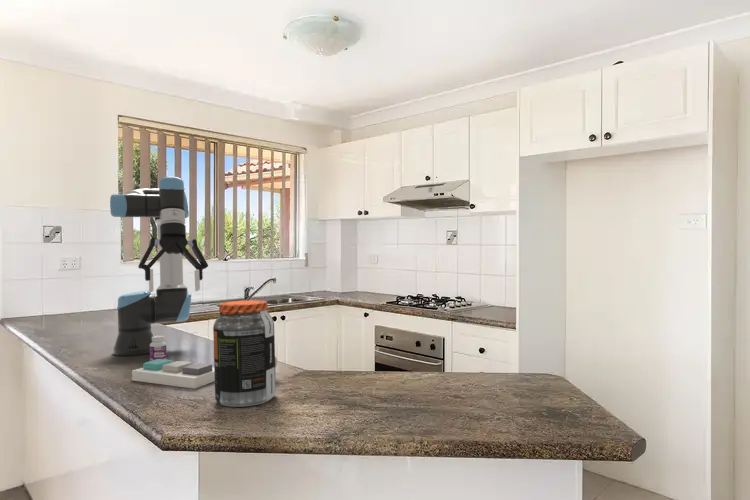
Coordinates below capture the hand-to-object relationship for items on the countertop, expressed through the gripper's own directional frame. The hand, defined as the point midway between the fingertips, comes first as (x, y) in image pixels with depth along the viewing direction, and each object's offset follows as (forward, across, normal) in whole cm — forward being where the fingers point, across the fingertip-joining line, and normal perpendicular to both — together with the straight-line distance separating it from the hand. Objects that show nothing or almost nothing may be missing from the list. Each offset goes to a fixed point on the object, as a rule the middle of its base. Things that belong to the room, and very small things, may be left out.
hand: (175, 290), depth 158 cm
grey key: (+25, +1, +6) cm, 25 cm away
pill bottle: (+20, +1, +31) cm, 37 cm away
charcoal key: (+26, +6, -1) cm, 27 cm away
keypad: (+26, +1, +6) cm, 27 cm away
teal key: (+23, -3, +13) cm, 27 cm away
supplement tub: (+34, +11, -25) cm, 44 cm away
